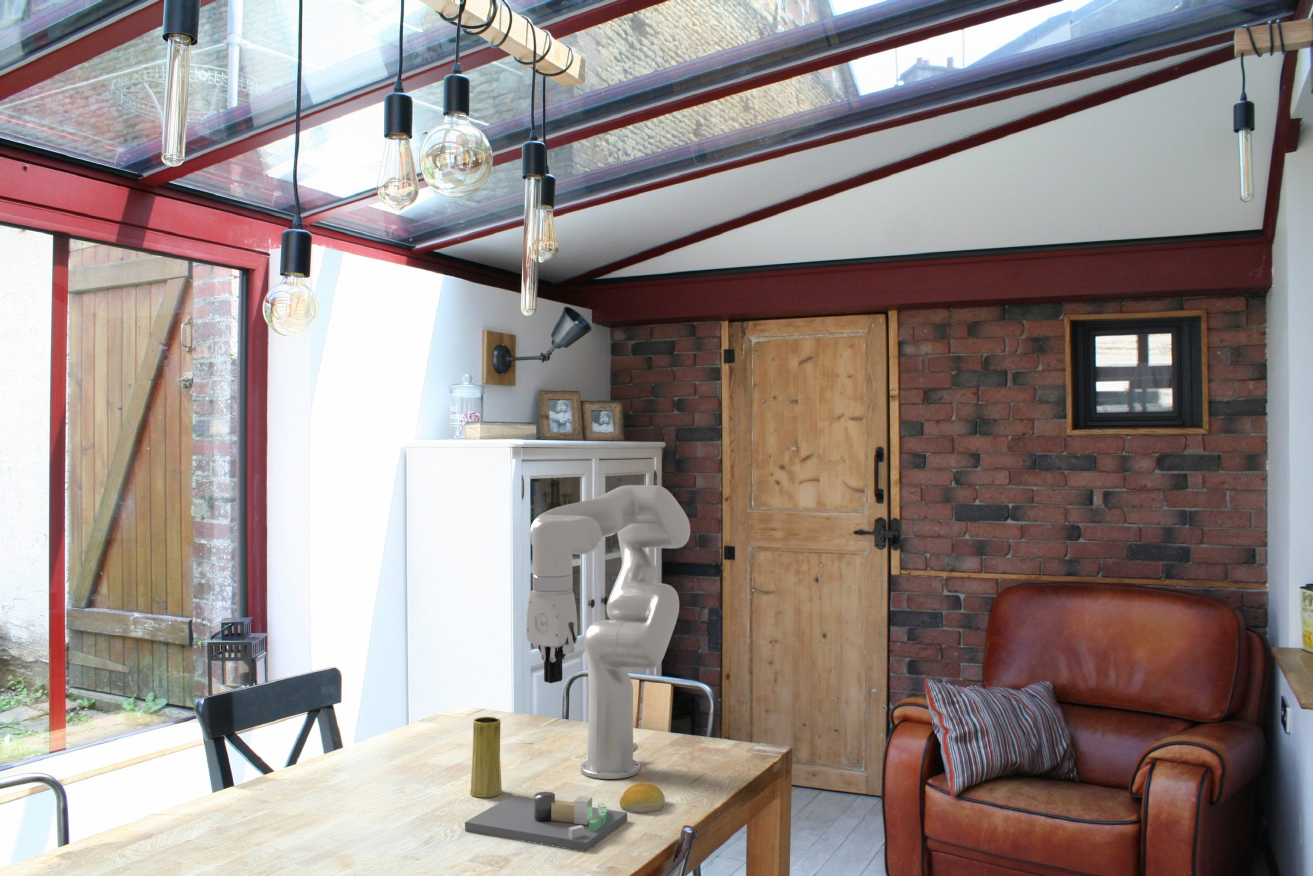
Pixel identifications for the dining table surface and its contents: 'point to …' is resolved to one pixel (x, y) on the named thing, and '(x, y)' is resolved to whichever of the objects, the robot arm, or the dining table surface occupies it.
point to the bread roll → (642, 798)
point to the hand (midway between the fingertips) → (553, 681)
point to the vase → (486, 758)
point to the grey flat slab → (544, 824)
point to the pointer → (562, 809)
